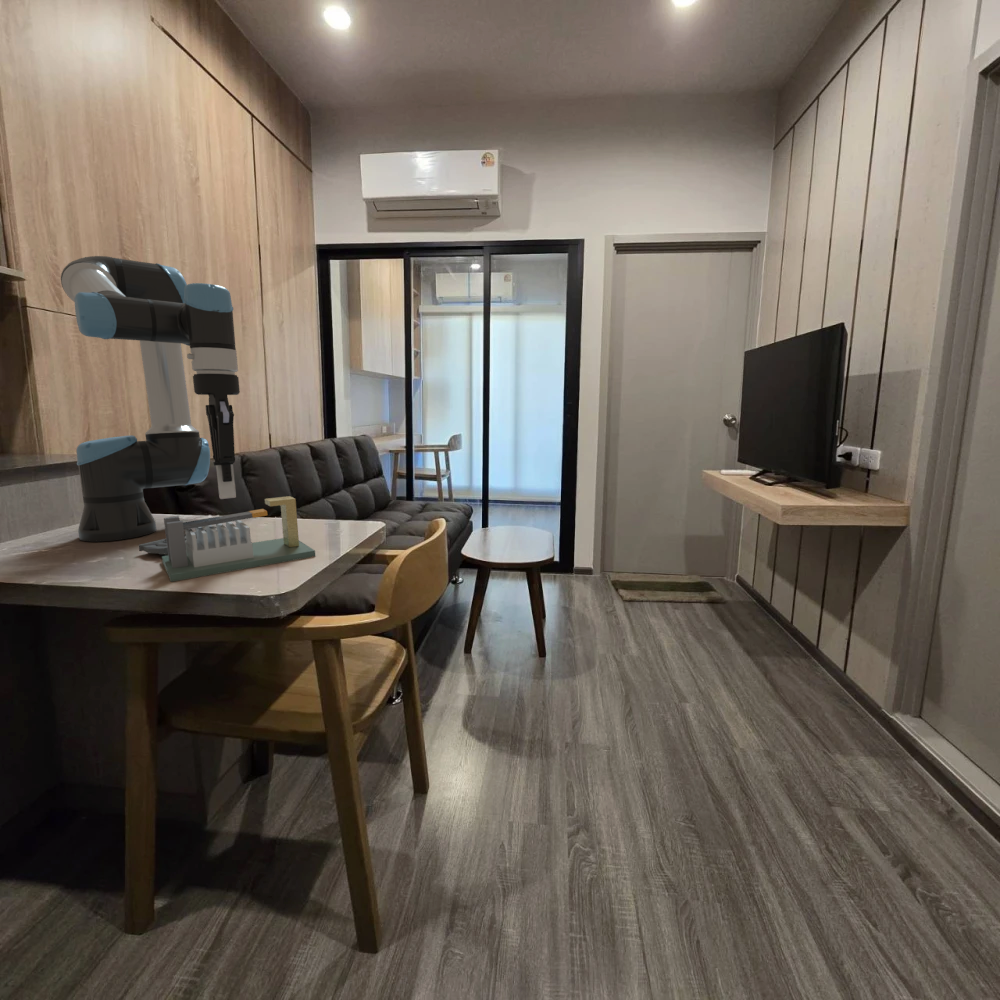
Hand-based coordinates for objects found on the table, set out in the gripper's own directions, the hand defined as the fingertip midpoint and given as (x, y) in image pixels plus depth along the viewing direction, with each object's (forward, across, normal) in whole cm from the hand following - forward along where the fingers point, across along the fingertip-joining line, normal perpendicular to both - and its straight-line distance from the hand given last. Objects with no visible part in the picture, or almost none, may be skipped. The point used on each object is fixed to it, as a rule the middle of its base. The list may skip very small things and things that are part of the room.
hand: (227, 497), depth 101 cm
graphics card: (+14, -17, -6) cm, 22 cm away
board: (+13, +1, +1) cm, 13 cm away
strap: (+5, +1, -2) cm, 5 cm away
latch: (+11, +1, +10) cm, 15 cm away
